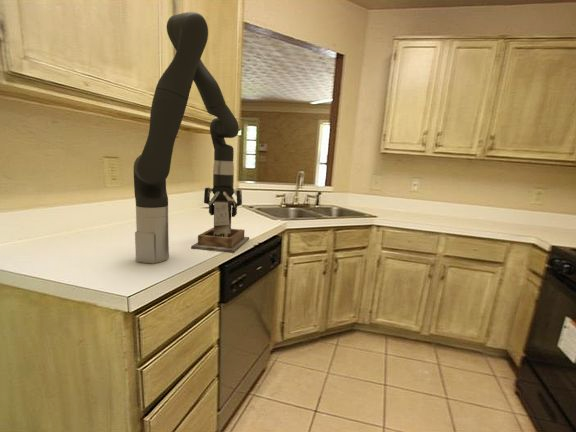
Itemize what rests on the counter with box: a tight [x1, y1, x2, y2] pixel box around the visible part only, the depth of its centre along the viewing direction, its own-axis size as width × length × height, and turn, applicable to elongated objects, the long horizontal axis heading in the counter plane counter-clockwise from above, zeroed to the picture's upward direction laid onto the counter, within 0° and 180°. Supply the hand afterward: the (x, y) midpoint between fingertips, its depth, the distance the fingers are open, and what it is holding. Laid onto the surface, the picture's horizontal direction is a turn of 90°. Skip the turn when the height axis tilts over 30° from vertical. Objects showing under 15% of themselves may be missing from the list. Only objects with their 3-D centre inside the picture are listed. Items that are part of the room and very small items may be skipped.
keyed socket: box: [190, 226, 250, 254], centre depth 119 cm, size 16×20×4 cm
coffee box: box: [213, 200, 233, 237], centre depth 118 cm, size 9×6×16 cm
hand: (222, 215), depth 118 cm, fingers open, 8 cm apart
